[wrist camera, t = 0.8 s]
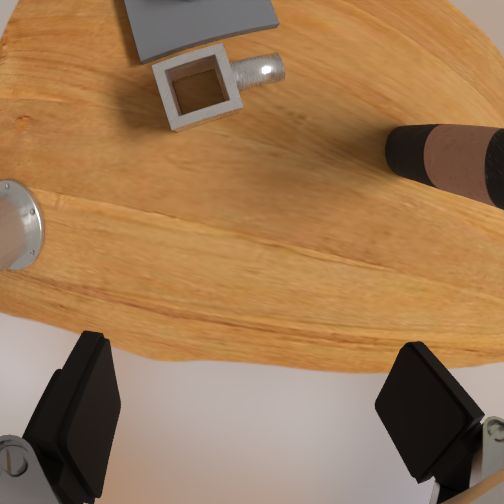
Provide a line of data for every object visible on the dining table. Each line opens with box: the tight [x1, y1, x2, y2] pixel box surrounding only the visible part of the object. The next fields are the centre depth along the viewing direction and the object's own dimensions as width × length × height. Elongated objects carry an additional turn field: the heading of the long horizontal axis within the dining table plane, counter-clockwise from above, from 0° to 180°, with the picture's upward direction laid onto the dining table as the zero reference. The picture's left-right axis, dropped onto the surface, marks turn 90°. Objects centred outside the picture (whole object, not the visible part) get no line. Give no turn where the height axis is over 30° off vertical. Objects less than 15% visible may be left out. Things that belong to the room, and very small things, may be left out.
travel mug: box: [385, 124, 504, 210], centre depth 26 cm, size 8×8×20 cm
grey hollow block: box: [152, 43, 285, 132], centre depth 28 cm, size 12×7×6 cm, turn 107°
